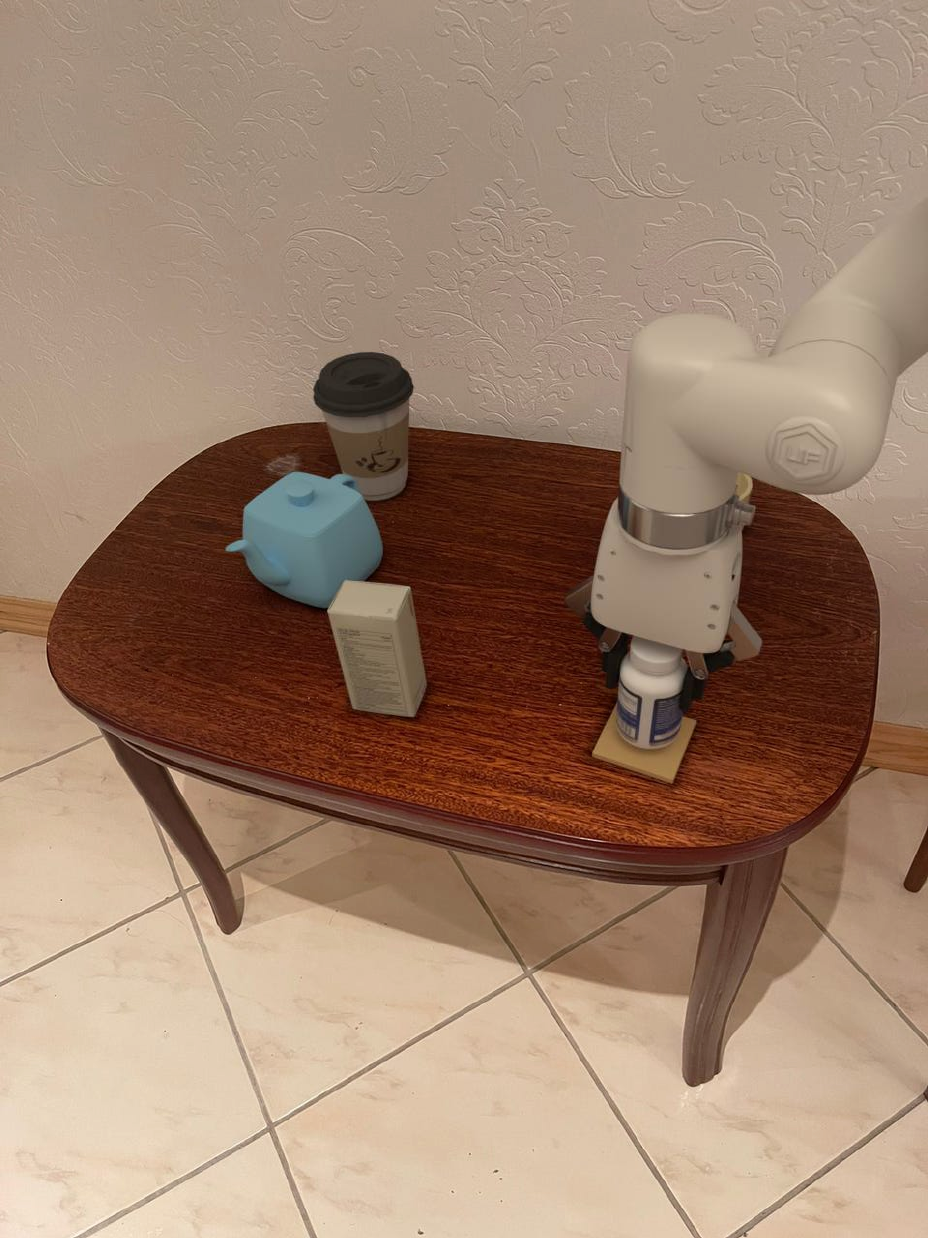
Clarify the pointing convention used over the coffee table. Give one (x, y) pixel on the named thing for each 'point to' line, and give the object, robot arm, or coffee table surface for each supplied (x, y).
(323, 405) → the coffee cup
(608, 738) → the mat
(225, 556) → the coffee table surface
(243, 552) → the teapot
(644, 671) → the pill bottle
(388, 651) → the cosmetic box
